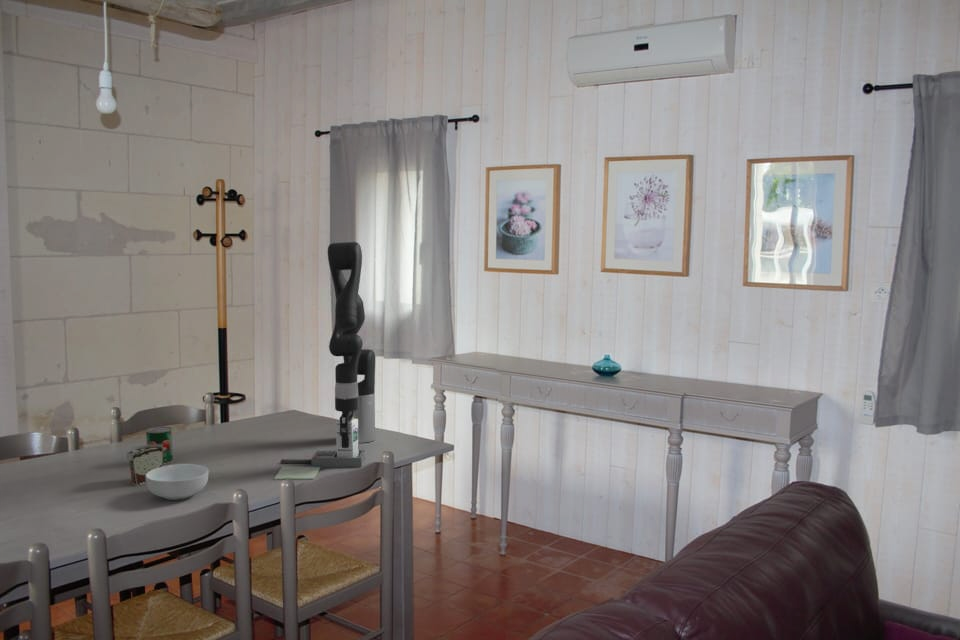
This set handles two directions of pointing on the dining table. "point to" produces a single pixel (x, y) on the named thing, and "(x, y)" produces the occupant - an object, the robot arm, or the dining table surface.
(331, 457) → the rectangular frying pan
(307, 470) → the sage mat
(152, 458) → the slice of cake
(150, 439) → the canned tomato
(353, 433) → the syrup box
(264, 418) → the dining table surface
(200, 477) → the cereal bowl
